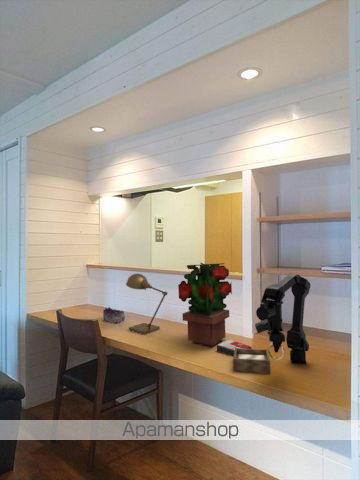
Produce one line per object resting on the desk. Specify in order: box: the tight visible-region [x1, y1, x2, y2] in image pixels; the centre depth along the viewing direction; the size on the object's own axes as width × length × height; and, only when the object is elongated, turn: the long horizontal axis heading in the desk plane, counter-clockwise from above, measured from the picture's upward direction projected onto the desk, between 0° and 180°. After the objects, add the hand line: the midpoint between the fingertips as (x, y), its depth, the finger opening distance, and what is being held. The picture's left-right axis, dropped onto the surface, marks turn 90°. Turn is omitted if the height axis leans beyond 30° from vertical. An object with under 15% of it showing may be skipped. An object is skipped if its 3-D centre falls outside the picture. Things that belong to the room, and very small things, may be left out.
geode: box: [102, 306, 126, 324], centre depth 242 cm, size 20×12×10 cm, turn 53°
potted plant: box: [177, 262, 233, 348], centre depth 188 cm, size 22×22×45 cm
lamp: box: [125, 273, 169, 336], centre depth 213 cm, size 15×34×37 cm, turn 49°
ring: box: [267, 341, 285, 361], centre depth 142 cm, size 7×3×8 cm, turn 59°
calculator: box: [216, 339, 253, 357], centre depth 173 cm, size 11×4×15 cm
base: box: [232, 348, 271, 374], centre depth 154 cm, size 16×14×6 cm
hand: (275, 351), depth 143 cm, fingers closed on ring, 3 cm apart
